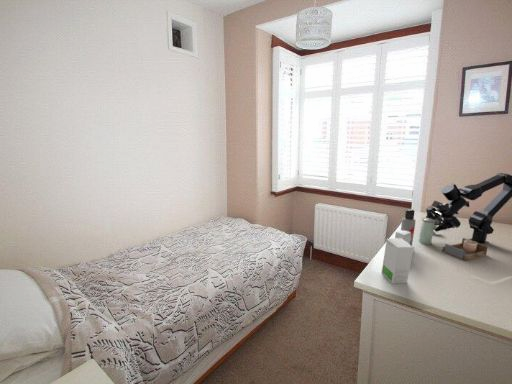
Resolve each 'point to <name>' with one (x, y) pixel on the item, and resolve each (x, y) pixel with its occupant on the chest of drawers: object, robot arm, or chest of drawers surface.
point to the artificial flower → (437, 223)
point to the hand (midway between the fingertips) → (429, 227)
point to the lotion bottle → (409, 223)
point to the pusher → (454, 251)
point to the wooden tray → (480, 252)
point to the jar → (469, 246)
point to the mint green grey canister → (426, 231)
